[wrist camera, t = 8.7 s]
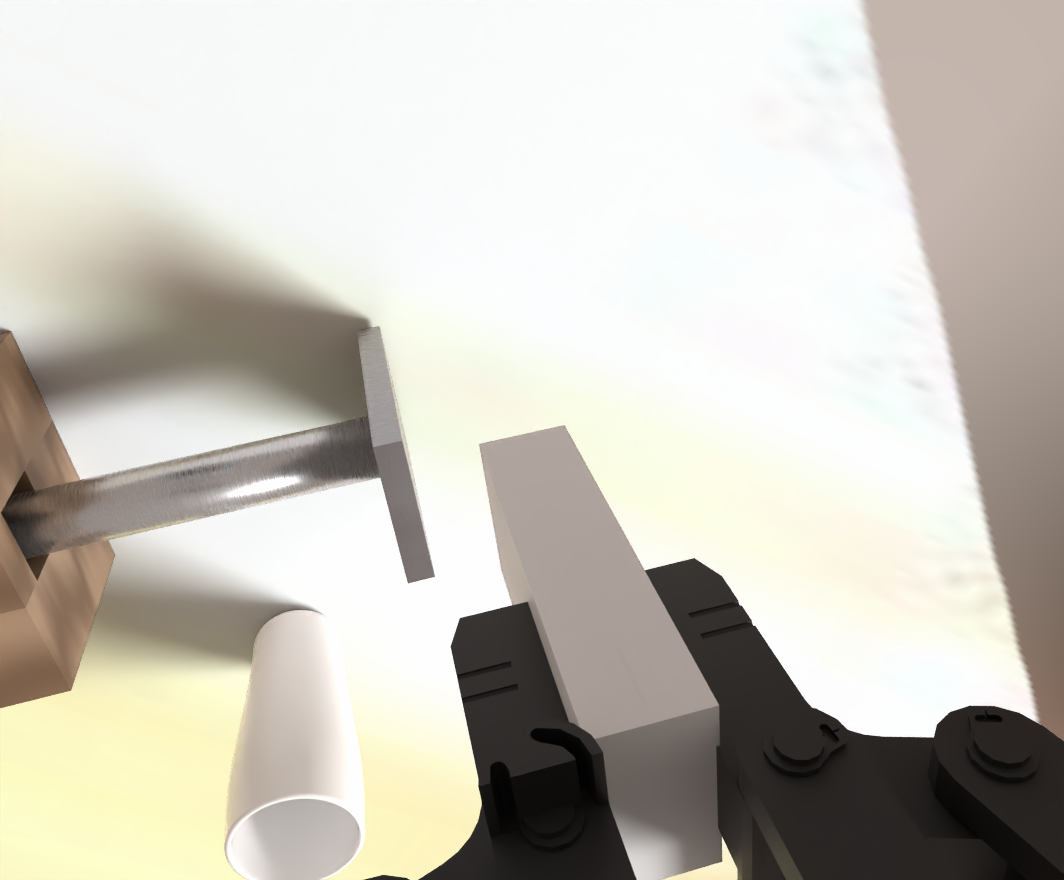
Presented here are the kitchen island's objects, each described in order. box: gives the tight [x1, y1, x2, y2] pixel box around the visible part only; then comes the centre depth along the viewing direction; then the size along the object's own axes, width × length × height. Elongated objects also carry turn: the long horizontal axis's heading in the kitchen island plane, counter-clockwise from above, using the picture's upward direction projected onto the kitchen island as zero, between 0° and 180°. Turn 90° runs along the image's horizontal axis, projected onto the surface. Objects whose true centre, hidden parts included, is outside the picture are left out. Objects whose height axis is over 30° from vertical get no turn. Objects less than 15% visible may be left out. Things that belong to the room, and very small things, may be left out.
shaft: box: [1, 326, 435, 583], centre depth 41 cm, size 7×24×13 cm, turn 97°
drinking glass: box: [224, 610, 365, 880], centre depth 49 cm, size 7×7×15 cm
